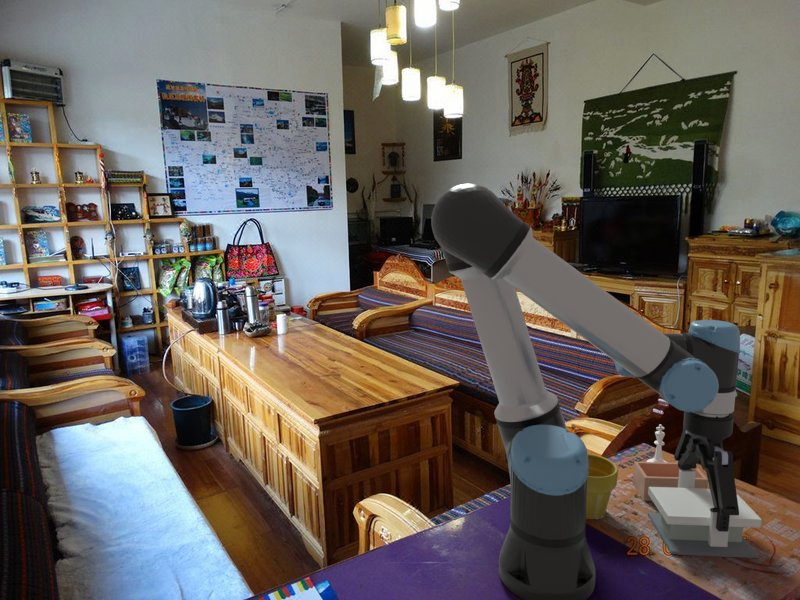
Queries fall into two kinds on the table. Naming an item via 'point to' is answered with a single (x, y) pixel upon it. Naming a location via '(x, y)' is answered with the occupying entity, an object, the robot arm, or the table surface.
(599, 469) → the plant pot
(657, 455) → the chess piece
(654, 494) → the board
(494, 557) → the table surface
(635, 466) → the open box
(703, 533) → the stand
